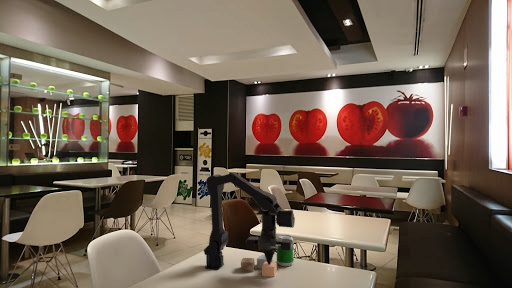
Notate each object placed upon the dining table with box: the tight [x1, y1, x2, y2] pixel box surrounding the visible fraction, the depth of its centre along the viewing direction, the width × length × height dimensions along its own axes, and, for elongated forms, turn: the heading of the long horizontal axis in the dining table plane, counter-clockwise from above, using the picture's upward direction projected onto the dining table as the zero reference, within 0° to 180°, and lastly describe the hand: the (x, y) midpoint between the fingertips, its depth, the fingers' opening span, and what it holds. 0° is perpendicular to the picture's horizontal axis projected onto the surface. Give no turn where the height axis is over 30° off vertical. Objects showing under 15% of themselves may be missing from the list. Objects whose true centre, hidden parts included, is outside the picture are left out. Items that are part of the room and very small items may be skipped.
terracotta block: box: [261, 261, 278, 278], centre depth 124 cm, size 5×5×4 cm
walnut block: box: [240, 257, 255, 273], centre depth 129 cm, size 5×5×4 cm
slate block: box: [256, 254, 273, 269], centre depth 132 cm, size 5×5×4 cm
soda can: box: [276, 234, 295, 267], centre depth 134 cm, size 8×8×12 cm
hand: (269, 264), depth 124 cm, fingers closed
